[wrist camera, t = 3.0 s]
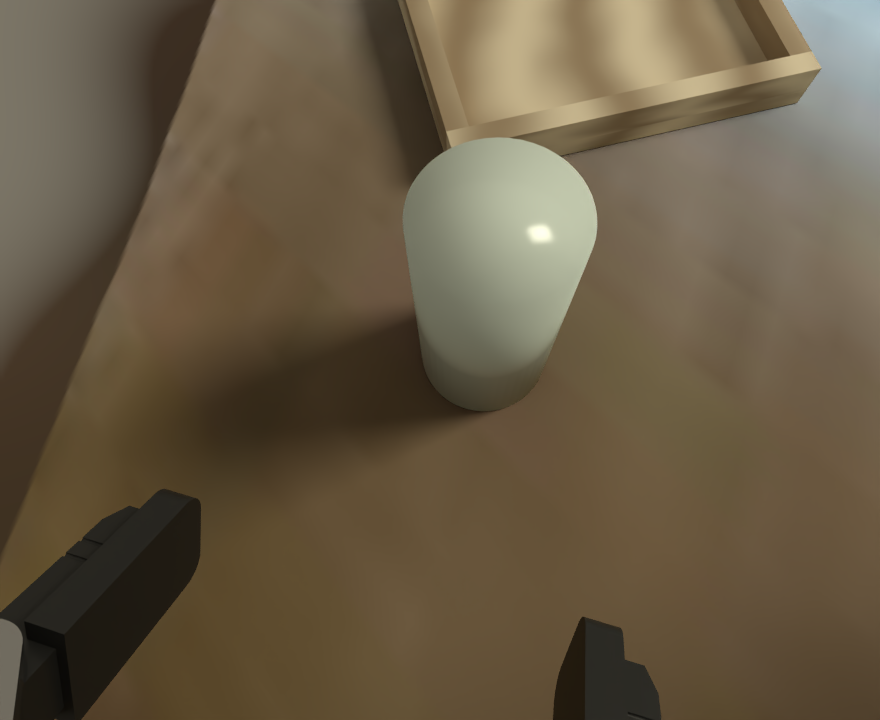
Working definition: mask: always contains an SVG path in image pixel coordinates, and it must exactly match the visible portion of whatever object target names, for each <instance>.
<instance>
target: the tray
mask: <svg viewBox="0 0 880 720" xmlns="http://www.w3.org/2000/svg"><path fill="white" fill-rule="evenodd" d="M398 3H399V6H400V9H401V13H402V16H403V19H404V23H405V26H406V29H407V32H408V36H409V39H410V42H411V46H412V49H413V52H414V56H415V59H416V62H417V65H418V69H419V72H420V75H421V79H422V82H423V85H424V89H425V92H426V95H427V98H428V102H429V105H430V108H431V112H432V115H433V118H434V122H435V125H436V128H437V131H438V135H439V138H440V141H441V145H442V148H443V151H444V152H445V151H447V150H449V149H450V148H452V147H455V146H457V145H460V144H462V143H465V142H469V141H472V140H477V139H483V138H496V137H501V138H513V139H520V140H524V141H528V142H531V143H535V144H537V145H540V146H542V147H545V148H547V149H549V150H550V151H552V152H554V153H556V154H557V155H559V156H562V155H567V154H571V153H576V152H580V151H585V150H589V149H594V148H598V147H602V146H607V145H611V144H616V143H620V142H625V141H629V140H634V139H638V138H643V137H647V136H651V135H656V134H660V133H665V132H669V131H674V130H678V129H683V128H687V127H691V126H696V125H700V124H705V123H709V122H714V121H718V120H723V119H727V118H732V117H736V116H740V115H745V114H749V113H754V112H758V111H763V110H767V109H772V108H776V107H780V106H785V105H789V104H794V103H797V102H798V101H799V99H800V98H801V97H802V95H803V94H804V92H805V91H806V89H807V88H808V87H809V85H810V84H811V82H812V81H813V80H814V78H815V77H816V75H817V74H818V73H819V71H820V70H821V67H820V65H819V63H818V61H817V60H816V58H815V56H814V55H813V53H812V51H811V49H810V48H809V46H808V44H807V43H806V41H805V39H804V37H803V36H802V34H801V32H800V31H799V29H798V27H797V25H796V24H795V22H794V20H793V19H792V17H791V15H790V14H789V12H788V10H787V8H786V7H785V5H784V3H783V2H782V0H398Z"/></svg>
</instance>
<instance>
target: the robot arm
mask: <svg viewBox="0 0 880 720" xmlns="http://www.w3.org/2000/svg"><path fill="white" fill-rule="evenodd" d="M200 531H201V504H200V501H199V500H198V499H196V498H193V497H190V496H186V495H183V494H180V493H177V492H173V491H170V490H167V489H162V490H160V491H158V492H157V493H156V494H154V495H153V496H152V497H151V498H150V499H149V500H148V501H147V502H146V503H145V504H144V505H143V506H142V507H141V508H140V509H138V508H135V507H131V506H128V507H126V508H124V509H122V510H120V511H118V512H116V513H114V514H112V515H110V516H108V517H106V518H104V519H102V520H101V521H100V522H99V523H98V524H97V525H96V526H95V527H94V528H92V529H91V530H90V531H89V532H88V533H87V534H86V535H85V536H84V537H83V539H82V541H78V542H77V543H76V544H75V545H74V546H73V547H72V548H71V549H69V550H68V551H67V552H66V555H65V556H62V557H61V558H60V559H59V560H57V561H56V562H55V563H54V564H53V565H52V566H51V567H50V568H49V569H48V570H47V571H45V572H44V573H43V574H42V575H41V576H40V577H39V578H38V579H37V580H36V581H34V582H33V583H32V584H31V585H30V586H29V587H28V588H27V589H26V590H25V591H24V592H22V593H21V594H20V595H19V596H18V597H17V598H16V599H15V600H14V601H13V602H12V603H10V604H9V605H8V606H7V607H6V608H5V609H4V610H3V611H2V612H0V720H54V719H57V720H81V719H82V718H83V717H84V715H85V714H86V713H87V711H88V710H89V709H90V708H91V706H92V705H93V704H94V703H95V701H96V700H97V699H98V697H99V696H100V695H101V694H102V692H103V691H104V690H105V689H106V687H107V686H108V685H109V683H110V682H111V681H112V680H113V678H114V677H115V676H116V675H117V673H118V672H119V671H120V670H121V668H122V667H123V666H124V664H125V663H126V662H127V661H128V659H129V658H130V657H131V656H132V654H133V653H134V652H135V650H136V649H137V648H138V647H139V645H140V644H141V643H142V642H143V640H144V639H145V638H146V636H147V635H148V634H149V633H150V631H151V630H152V629H153V628H154V626H155V625H156V624H157V623H158V621H159V620H160V619H161V617H162V616H163V615H164V614H165V612H166V611H167V610H168V609H169V607H170V606H171V605H172V603H173V602H174V601H175V600H176V598H177V597H178V596H179V595H180V593H181V592H182V591H183V589H184V588H185V587H186V586H187V584H188V583H189V582H190V580H191V578H192V576H193V575H194V572H195V570H196V568H197V565H198V562H199V558H200ZM553 720H661V713H660V704H659V695H658V692H657V690H656V688H655V686H654V684H653V682H652V680H651V678H650V676H649V674H648V672H647V670H646V668H645V666H643V665H640V664H637V663H634V662H630V661H627V660H625V659H624V642H623V632H622V629H621V628H619V627H615V626H612V625H609V624H606V623H602V622H599V621H596V620H592V619H589V618H586V617H582V618H581V619H580V621H579V623H578V626H577V628H576V631H575V633H574V636H573V638H572V641H571V643H570V646H569V648H568V651H567V653H566V656H565V659H564V661H563V664H562V666H561V669H560V672H559V676H558V680H557V685H556V690H555V698H554V712H553Z"/></svg>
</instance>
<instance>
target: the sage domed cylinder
mask: <svg viewBox="0 0 880 720" xmlns="http://www.w3.org/2000/svg"><path fill="white" fill-rule="evenodd" d="M403 230H404V237H405V244H406V251H407V258H408V265H409V272H410V278H411V285H412V292H413V299H414V306H415V313H416V320H417V326H418V333H419V340H420V347H421V354H422V360H423V366H424V369H425V372H426V375H427V377H428V379H429V381H430V382H431V384H432V385H433V387H434V388H435V389H436V390H437V391H438V392H439V393H440V394H441V395H442V396H443V397H444V398H445V399H447V400H448V401H450V402H451V403H453V404H455V405H457V406H460V407H462V408H465V409H469V410H474V411H494V410H499V409H503V408H506V407H509V406H511V405H513V404H515V403H517V402H518V401H520V400H521V399H523V398H524V397H525V396H526V395H527V394H528V393H529V392H530V391H531V390H532V389H533V388H534V386H535V385H536V383H537V382H538V379H539V377H540V375H541V373H542V371H543V368H544V366H545V363H546V361H547V358H548V356H549V354H550V351H551V349H552V346H553V344H554V341H555V339H556V337H557V334H558V332H559V329H560V327H561V324H562V322H563V320H564V317H565V315H566V312H567V310H568V307H569V305H570V303H571V300H572V298H573V295H574V293H575V290H576V288H577V286H578V283H579V281H580V278H581V276H582V273H583V271H584V269H585V266H586V264H587V261H588V259H589V256H590V254H591V252H592V249H593V246H594V242H595V239H596V232H597V214H596V207H595V204H594V200H593V197H592V195H591V192H590V190H589V188H588V186H587V184H586V183H585V181H584V180H583V178H582V177H581V176H580V174H579V173H578V172H577V171H576V170H575V169H574V168H573V167H572V166H571V165H570V164H569V163H568V162H567V161H566V160H564V159H563V158H562V157H560V156H559V155H557V154H556V153H554V152H552V151H550V150H549V149H547V148H545V147H542V146H540V145H537V144H535V143H531V142H528V141H524V140H520V139H513V138H501V137H496V138H483V139H477V140H472V141H469V142H465V143H462V144H460V145H457V146H455V147H452V148H450V149H449V150H447V151H445V152H443V153H441V154H440V155H439V156H437V157H436V158H434V159H433V160H432V161H431V162H430V163H429V164H428V165H426V166H425V167H424V168H423V170H422V171H421V172H420V173H419V174H418V176H417V177H416V179H415V180H414V182H413V184H412V185H411V187H410V190H409V192H408V194H407V197H406V201H405V204H404V211H403Z"/></svg>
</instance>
